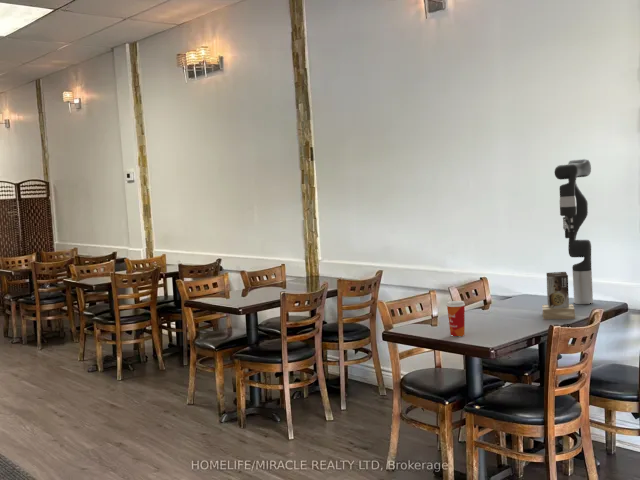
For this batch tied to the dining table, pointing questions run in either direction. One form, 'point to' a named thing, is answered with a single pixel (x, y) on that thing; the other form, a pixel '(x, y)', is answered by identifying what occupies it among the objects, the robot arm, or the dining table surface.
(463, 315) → the coffee cup
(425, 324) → the dining table surface
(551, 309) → the birch block
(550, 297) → the coffee box
